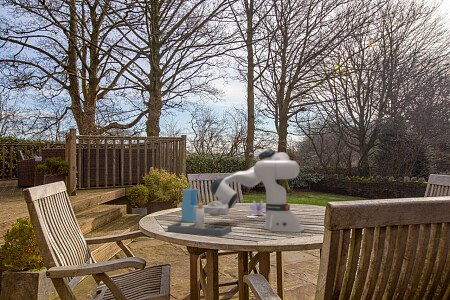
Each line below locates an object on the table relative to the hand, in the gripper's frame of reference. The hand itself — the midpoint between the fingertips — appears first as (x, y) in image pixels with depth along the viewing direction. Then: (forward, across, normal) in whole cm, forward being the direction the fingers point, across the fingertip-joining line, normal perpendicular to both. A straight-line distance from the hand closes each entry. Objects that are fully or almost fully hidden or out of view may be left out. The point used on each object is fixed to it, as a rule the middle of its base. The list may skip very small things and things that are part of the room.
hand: (204, 211), depth 199 cm
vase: (-23, -22, +10) cm, 34 cm away
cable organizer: (+6, 0, +10) cm, 12 cm away
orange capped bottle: (+6, 0, +9) cm, 11 cm away
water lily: (-64, +11, +10) cm, 66 cm away
